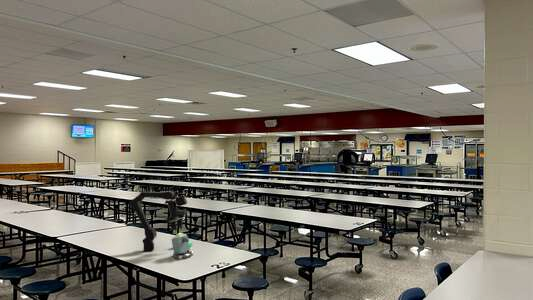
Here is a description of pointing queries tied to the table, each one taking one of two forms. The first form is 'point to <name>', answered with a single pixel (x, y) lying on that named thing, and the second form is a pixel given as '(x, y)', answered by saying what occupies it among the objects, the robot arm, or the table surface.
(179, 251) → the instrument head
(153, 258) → the table surface
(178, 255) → the tribrach base
